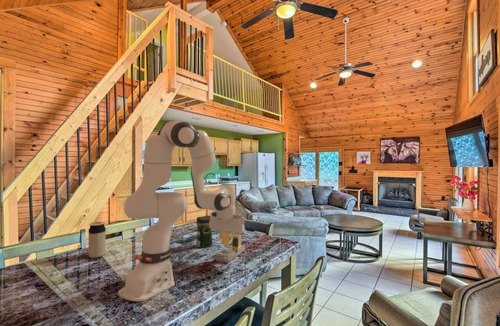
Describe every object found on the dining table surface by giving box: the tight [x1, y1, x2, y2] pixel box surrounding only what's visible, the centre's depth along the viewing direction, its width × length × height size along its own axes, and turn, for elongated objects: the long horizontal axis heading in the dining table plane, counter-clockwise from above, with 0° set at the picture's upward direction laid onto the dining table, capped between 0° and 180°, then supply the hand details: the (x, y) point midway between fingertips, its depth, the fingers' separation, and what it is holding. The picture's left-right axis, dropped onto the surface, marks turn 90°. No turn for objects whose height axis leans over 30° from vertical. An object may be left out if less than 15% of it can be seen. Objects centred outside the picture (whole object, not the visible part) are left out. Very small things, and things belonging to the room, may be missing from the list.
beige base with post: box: [215, 233, 246, 264], centre depth 138 cm, size 22×8×9 cm, turn 158°
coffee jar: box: [195, 215, 213, 249], centre depth 152 cm, size 10×8×19 cm
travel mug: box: [88, 220, 107, 259], centre depth 135 cm, size 8×8×18 cm
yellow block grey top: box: [220, 231, 232, 246], centre depth 131 cm, size 4×4×7 cm
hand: (226, 239), depth 131 cm, fingers closed on yellow block grey top, 4 cm apart
